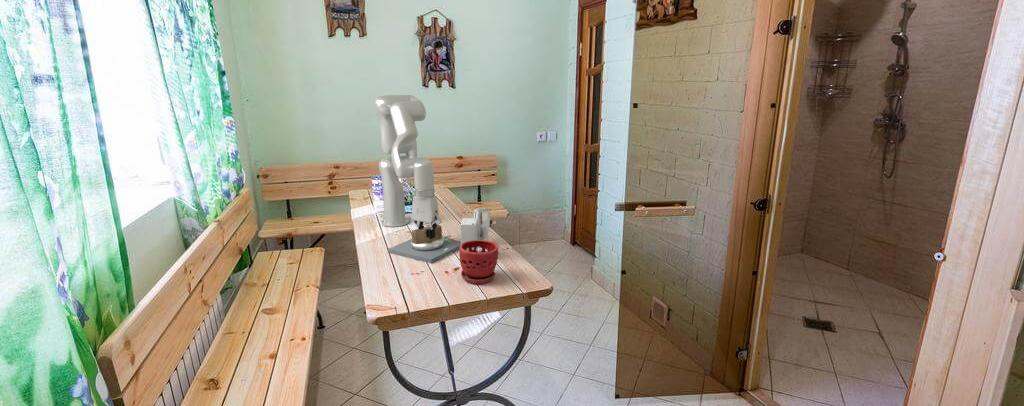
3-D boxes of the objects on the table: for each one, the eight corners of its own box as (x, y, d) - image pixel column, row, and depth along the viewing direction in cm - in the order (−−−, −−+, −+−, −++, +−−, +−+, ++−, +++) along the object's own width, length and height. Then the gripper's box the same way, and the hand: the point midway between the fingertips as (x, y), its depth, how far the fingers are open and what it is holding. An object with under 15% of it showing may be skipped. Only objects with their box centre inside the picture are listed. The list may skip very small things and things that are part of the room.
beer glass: (487, 248, 190) (487, 212, 186) (471, 247, 191) (470, 211, 187) (491, 242, 196) (491, 208, 192) (475, 241, 198) (475, 207, 194)
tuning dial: (422, 253, 180) (421, 235, 178) (404, 244, 189) (403, 227, 187) (459, 242, 191) (458, 226, 189) (441, 234, 200) (440, 219, 199)
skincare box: (463, 253, 184) (462, 217, 180) (478, 253, 184) (477, 217, 180) (460, 261, 176) (459, 223, 172) (476, 261, 176) (476, 224, 172)
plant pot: (467, 289, 153) (466, 254, 150) (455, 274, 165) (454, 242, 162) (504, 282, 158) (504, 249, 155) (490, 268, 170) (489, 237, 167)
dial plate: (387, 252, 185) (387, 248, 185) (424, 236, 204) (424, 233, 203) (431, 263, 175) (431, 259, 174) (466, 245, 193) (466, 241, 192)
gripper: (401, 192, 183) (404, 236, 188) (436, 197, 176) (438, 243, 181) (413, 188, 190) (415, 231, 195) (448, 192, 183) (449, 237, 187)
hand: (426, 236), depth 188 cm, fingers closed on tuning dial, 4 cm apart
